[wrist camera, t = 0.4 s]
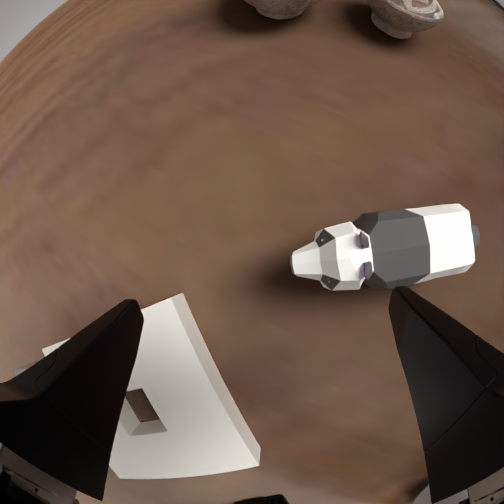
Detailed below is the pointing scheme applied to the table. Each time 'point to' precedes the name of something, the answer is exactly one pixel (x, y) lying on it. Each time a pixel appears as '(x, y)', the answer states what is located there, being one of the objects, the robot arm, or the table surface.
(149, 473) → the hole block
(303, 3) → the pottery
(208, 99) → the table surface
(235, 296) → the table surface
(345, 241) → the giant panda
